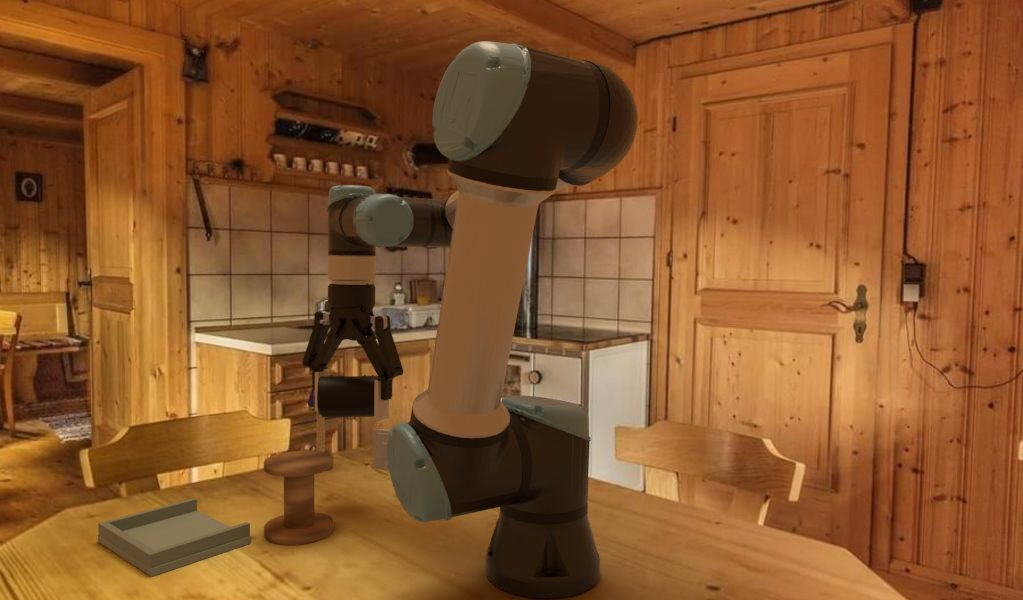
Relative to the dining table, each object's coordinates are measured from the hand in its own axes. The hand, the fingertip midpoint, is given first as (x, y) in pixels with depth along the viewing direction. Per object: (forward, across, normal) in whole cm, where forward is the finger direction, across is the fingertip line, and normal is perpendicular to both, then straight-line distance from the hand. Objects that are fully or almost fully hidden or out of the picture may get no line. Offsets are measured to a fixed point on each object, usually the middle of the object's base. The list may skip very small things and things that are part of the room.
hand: (351, 414), depth 114 cm
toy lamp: (+16, +20, -14) cm, 29 cm away
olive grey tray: (+16, +13, +23) cm, 31 cm away
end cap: (+1, 0, 0) cm, 1 cm away
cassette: (+16, +6, -22) cm, 28 cm away
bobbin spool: (+16, 0, +12) cm, 19 cm away
